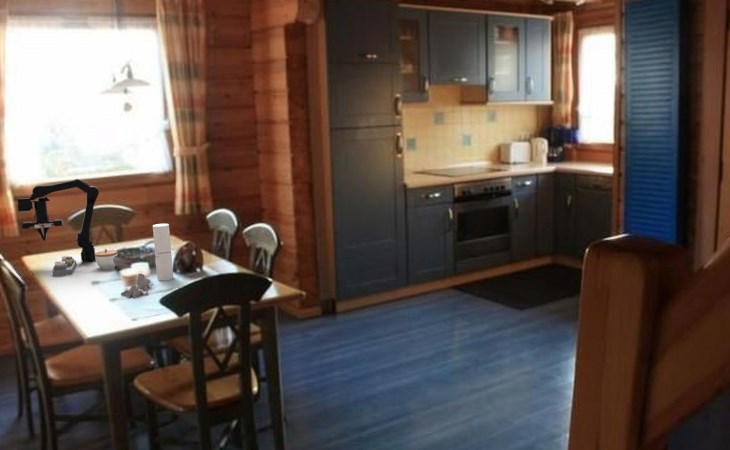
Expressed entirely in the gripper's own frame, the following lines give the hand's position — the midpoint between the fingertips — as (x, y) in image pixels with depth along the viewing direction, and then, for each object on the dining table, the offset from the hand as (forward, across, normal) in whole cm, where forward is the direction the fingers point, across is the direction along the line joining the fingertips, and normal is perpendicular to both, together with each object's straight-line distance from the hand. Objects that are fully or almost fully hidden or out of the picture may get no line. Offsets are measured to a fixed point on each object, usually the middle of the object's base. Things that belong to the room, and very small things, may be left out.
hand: (44, 240), depth 358 cm
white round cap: (+13, -11, +11) cm, 20 cm away
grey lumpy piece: (+14, -45, +75) cm, 88 cm away
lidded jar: (+13, -30, +19) cm, 38 cm away
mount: (+13, -10, +16) cm, 23 cm away
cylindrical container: (+13, -57, +55) cm, 80 cm away
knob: (+13, -9, +23) cm, 28 cm away
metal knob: (+10, -12, +17) cm, 24 cm away
